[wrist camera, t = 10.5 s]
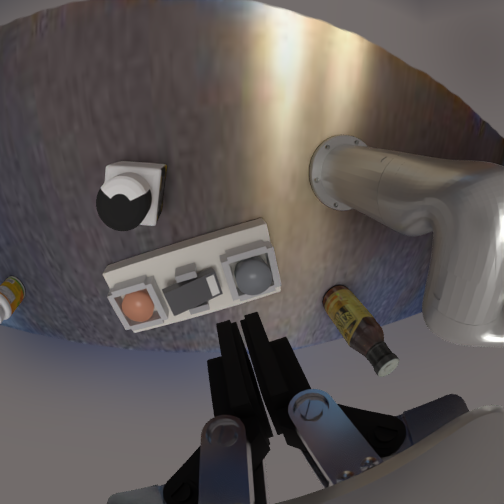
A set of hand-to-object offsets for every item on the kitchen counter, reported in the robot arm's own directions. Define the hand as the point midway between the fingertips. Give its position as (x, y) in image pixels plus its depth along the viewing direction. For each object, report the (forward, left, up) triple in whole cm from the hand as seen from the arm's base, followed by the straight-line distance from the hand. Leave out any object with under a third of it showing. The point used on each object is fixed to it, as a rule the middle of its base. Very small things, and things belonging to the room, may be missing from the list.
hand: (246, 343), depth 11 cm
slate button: (-3, +12, -27) cm, 29 cm away
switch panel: (+6, +12, -31) cm, 34 cm away
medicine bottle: (+9, -4, -31) cm, 33 cm away
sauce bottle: (-18, +26, -31) cm, 44 cm away
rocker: (+6, +12, -26) cm, 29 cm away
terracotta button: (+15, +12, -28) cm, 34 cm away
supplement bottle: (+42, +4, -31) cm, 53 cm away
